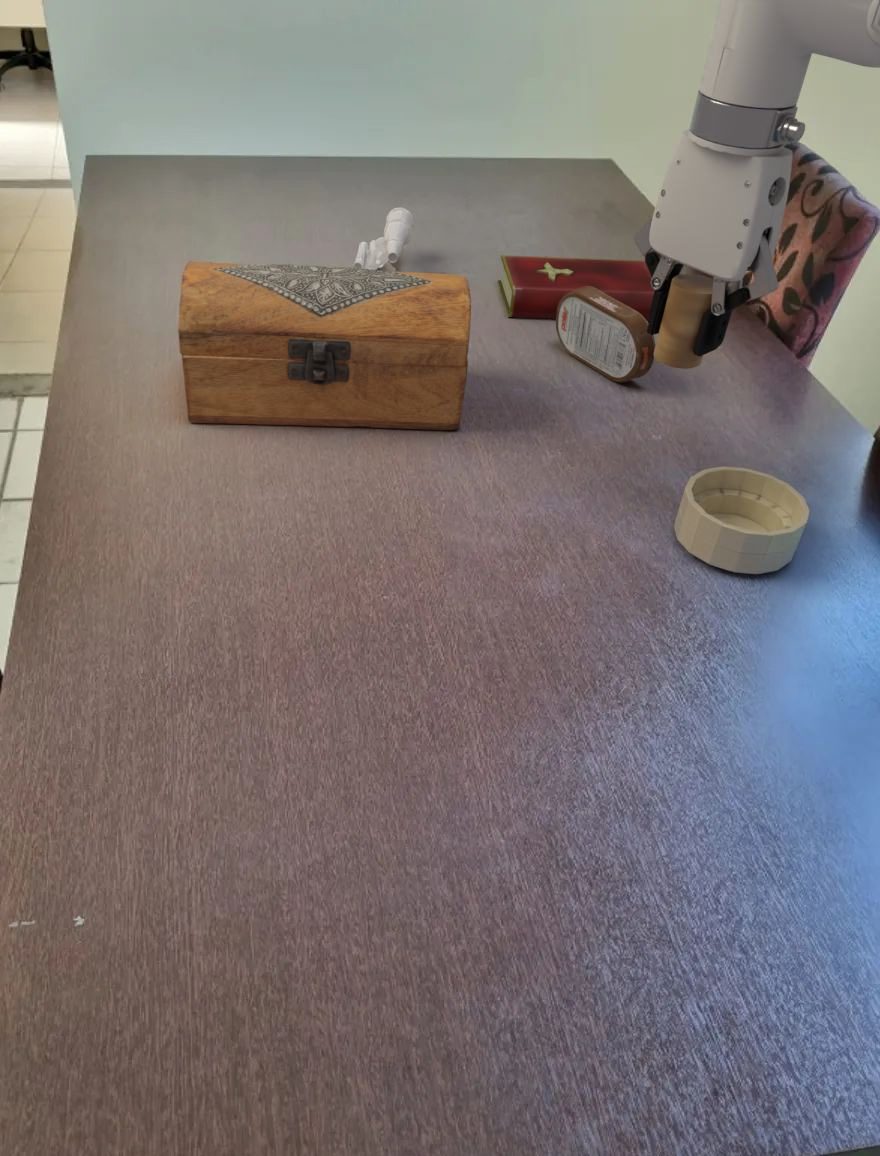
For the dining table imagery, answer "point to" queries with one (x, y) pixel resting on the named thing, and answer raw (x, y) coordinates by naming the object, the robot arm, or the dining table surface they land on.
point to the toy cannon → (387, 242)
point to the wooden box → (323, 346)
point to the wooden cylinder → (683, 320)
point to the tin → (605, 334)
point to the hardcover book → (571, 283)
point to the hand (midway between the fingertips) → (682, 339)
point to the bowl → (741, 519)
